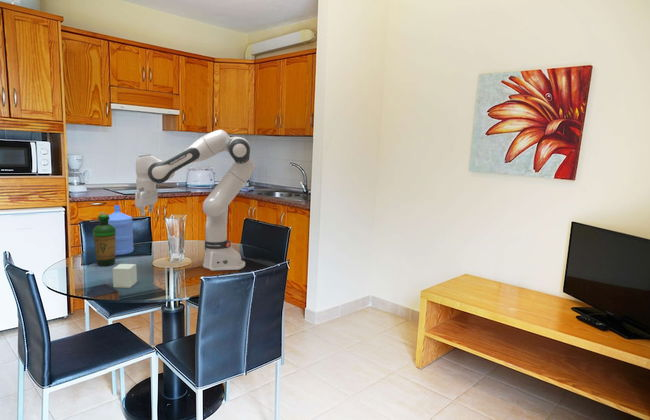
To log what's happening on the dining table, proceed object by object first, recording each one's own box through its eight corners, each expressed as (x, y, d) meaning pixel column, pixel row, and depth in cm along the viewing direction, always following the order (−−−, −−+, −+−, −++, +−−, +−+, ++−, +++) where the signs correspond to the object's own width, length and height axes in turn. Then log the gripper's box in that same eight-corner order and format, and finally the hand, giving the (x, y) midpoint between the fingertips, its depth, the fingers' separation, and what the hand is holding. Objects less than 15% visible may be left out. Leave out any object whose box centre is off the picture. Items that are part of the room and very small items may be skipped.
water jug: (138, 252, 244) (136, 206, 239) (110, 257, 232) (108, 208, 228) (127, 247, 254) (125, 202, 250) (99, 252, 242) (97, 205, 238)
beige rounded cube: (136, 282, 194) (136, 264, 192) (130, 287, 186) (129, 268, 185) (120, 281, 193) (120, 263, 192) (113, 287, 186) (112, 268, 185)
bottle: (101, 268, 212) (98, 215, 208) (90, 264, 218) (87, 212, 213) (121, 263, 221) (119, 212, 217) (110, 260, 227) (107, 210, 222)
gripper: (144, 189, 198) (145, 217, 200) (159, 185, 218) (160, 210, 220) (130, 189, 197) (132, 217, 199) (147, 184, 217) (148, 210, 220)
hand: (147, 213), depth 210 cm, fingers open, 8 cm apart
